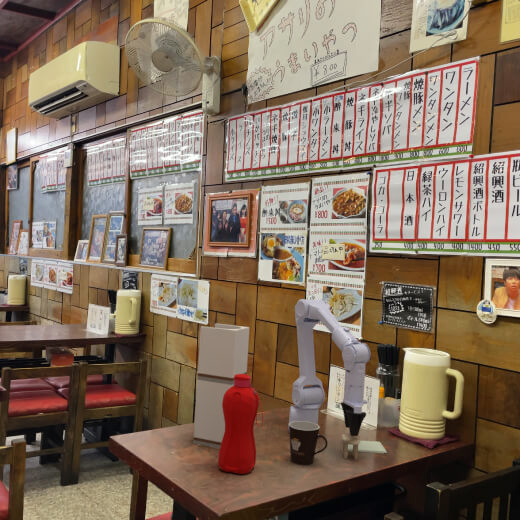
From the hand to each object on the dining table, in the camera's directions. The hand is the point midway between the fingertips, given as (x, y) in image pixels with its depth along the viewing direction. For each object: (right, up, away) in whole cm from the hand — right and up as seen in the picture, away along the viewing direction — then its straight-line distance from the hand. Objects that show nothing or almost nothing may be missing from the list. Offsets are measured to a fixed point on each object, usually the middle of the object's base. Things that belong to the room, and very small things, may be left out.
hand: (351, 431), depth 159 cm
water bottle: (-32, -6, -14) cm, 36 cm away
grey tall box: (-40, -5, +5) cm, 40 cm away
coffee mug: (-14, -7, -7) cm, 17 cm away
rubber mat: (+5, -8, +9) cm, 13 cm away
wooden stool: (-1, -7, 0) cm, 8 cm away
